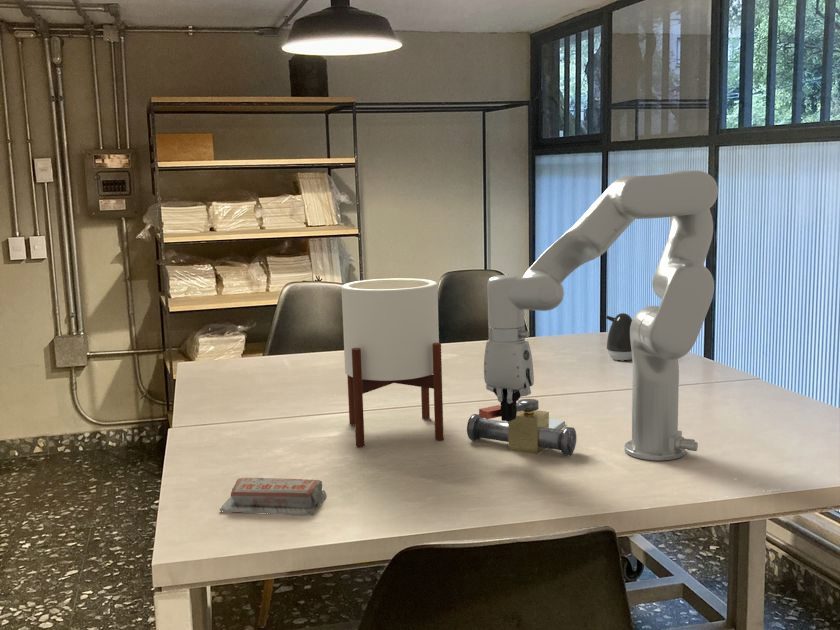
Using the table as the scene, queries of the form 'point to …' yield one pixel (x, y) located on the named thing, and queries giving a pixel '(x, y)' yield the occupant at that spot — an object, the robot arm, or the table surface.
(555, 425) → the hard drive
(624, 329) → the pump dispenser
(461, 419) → the table surface
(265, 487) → the packaged product
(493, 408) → the valve lever
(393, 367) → the plant pot with stand
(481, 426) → the pipe and valve body
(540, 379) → the table surface
